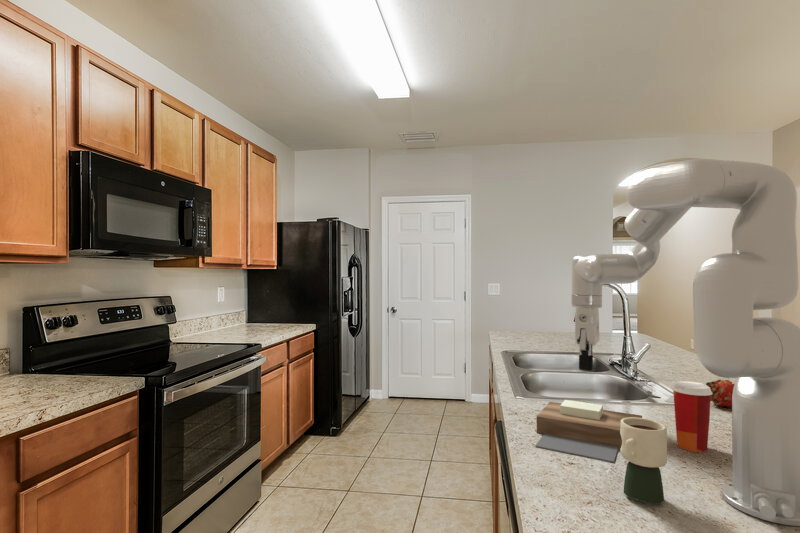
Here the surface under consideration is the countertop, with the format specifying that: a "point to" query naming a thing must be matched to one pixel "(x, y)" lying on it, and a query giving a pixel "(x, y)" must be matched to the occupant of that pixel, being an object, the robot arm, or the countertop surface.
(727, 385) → the dragon fruit
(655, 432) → the character mug
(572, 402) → the cream rectangular block
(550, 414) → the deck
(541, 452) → the countertop surface
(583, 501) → the countertop surface
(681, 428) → the paper cup
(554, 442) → the mat
